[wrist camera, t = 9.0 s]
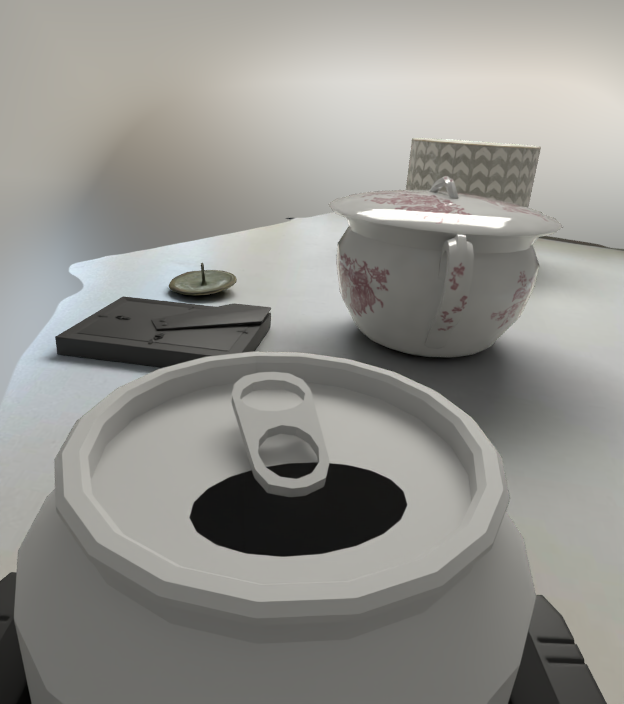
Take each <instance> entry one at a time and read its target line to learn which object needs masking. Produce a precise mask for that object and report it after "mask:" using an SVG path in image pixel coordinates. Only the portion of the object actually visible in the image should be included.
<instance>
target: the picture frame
mask: <svg viewBox="0 0 624 704" xmlns="http://www.w3.org/2000/svg"><path fill="white" fill-rule="evenodd" d="M270 310H271V308H270V307H261V306H252V305H243V304H229V305H224V306H219V307H213V306H204V305H195V304H186V303H177V302H167V301H158V300H149V299H140V298H131V297H121V298H120V299H118V300H116V301H115V302H113V303H111V304H110V305H108V306H106V307H105V308H103V309H101V310H100V311H98V312H96V313H95V314H93V315H91V316H90V317H88V318H86V319H85V320H83V321H81V322H80V323H78V324H76V325H75V326H73V327H71V328H70V329H68V330H66V331H64V332H63V333H61V334H59V335H58V336H56V337H55V338H56V346H57V353H58V354H61V355H69V356H77V357H85V358H93V359H101V360H109V361H117V362H125V363H133V364H141V365H149V366H157V367H168V366H172V365H176V364H180V363H184V362H188V361H191V360H195V359H199V358H203V357H209V356H218V355H227V354H236V353H245V352H254V351H255V349H256V348H257V346H258V345H259V343H260V342H261V340H262V339H263V338H264V336H265V335H266V333H267V332H268V330H269V329H270V323H271V313H269V311H270Z"/></svg>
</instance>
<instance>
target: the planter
mask: <svg viewBox="0 0 624 704" xmlns="http://www.w3.org/2000/svg"><path fill="white" fill-rule="evenodd" d="M540 149H541V147H538V146H529V145H516V144H505V143H490V142H476V141H461V140H446V139H425V138H413V139H412V144H411V152H410V160H409V169H408V177H407V185H406V190H430V189H431V187H432V186H433V184H434V183H435V182H436V181H437V180H438V179H440V178H442V177H444V176H448V177H450V178H451V179H453V181H454V184H455V187H456V190H457V193H464V194H471V195H476V196H481V197H486V198H491V199H496V200H500V201H505V202H509V203H514V204H517V205H520V206H524V207H527V208H528V206H529V201H530V197H531V192H532V187H533V182H534V177H535V173H536V168H537V163H538V158H539V154H540ZM439 191H447V190H446V187H445V186H443V187H442V188H441V189H440V190H439Z"/></svg>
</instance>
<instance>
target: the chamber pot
mask: <svg viewBox="0 0 624 704" xmlns="http://www.w3.org/2000/svg"><path fill="white" fill-rule="evenodd" d="M443 186H445V187H446V190H447V191H439V190H440V189H441V188H442V187H443ZM329 206H330V207H331V209H332V210H333V211H334V212H335V213H336V214H338V215H341V216H343V217H346V218H347V221H348V225H349V227H348V228H347V230H346V231H345V233H344V234H343V236H342V238H341V239H340V241H339V242H338V247H337V260H336V265H337V273H338V281H339V289H340V293H341V296H342V298H343V300H344V302H345V304H346V306H347V308H348V310H349V312H350V314H351V316H352V318H353V320H354V322H355V324H356V326H357V327H358V329H359V330H360V331H361V332H362V333H363V334H364V335H366V336H367V337H368V338H369V339H371V340H372V341H374V342H376V343H379V344H381V345H383V346H385V347H387V348H390V349H393V350H396V351H400V352H404V353H407V354H411V355H417V356H424V357H458V356H467V355H472V354H475V353H478V352H481V351H483V350H485V349H487V348H489V347H490V346H492V345H493V344H494V343H495V342H496V340H497V339H498V338H499V337H500V336H501V335H502V334H503V333H504V332H505V331H506V330H507V329H508V328H509V327H510V326H511V325H512V324H513V323H514V322H515V321H516V320H517V319H518V318H519V317H520V316H521V315H522V313H523V311H524V308H525V306H526V304H527V302H528V300H529V298H530V295H531V293H532V291H533V289H534V287H535V283H536V279H537V274H538V270H539V263H538V260H537V257H536V254H535V251H534V248H533V244H534V243H535V241H536V240H537V238H538V237H541V236H547V235H552V234H554V233H556V232H557V231H558V230H560V229H561V228H563V227H562V225H561V224H560V223H559V222H558V221H557V220H556V219H554V218H552V217H549V216H547V215H544V214H543V213H542V212H539V211H536V210H533V209H530V208H527V207H524V206H520V205H517V204H514V203H509V202H505V201H500V200H496V199H491V198H486V197H481V196H476V195H471V194H464V193H457V190H456V187H455V184H454V181H453V179H451V178H450V177H448V176H444V177H442V178H440V179H438V180H437V181H436V182H435V183H434V184H433V186H432V187H431V189H430V190H395V191H375V192H367V193H359V194H353V195H349V196H347V197H342V198H337V199H336V200H334V201H332V202H331V203H330V204H329Z"/></svg>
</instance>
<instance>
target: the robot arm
mask: <svg viewBox="0 0 624 704" xmlns="http://www.w3.org/2000/svg"><path fill="white" fill-rule="evenodd" d="M16 575H17V573H14V572H11V573H9V574H8V575H7V576H6V577H5V578H3V579H2V580H1V581H0V704H32V703H31V698H30V693H29V688H28V684H27V679H26V674H25V669H24V664H23V660H22V655H21V650H20V645H19V640H18V636H17V631H16V626H15V621H14V607H15V591H16ZM508 704H607V703H606V701H605V699H604V697H603V695H602V693H601V692H600V690H599V688H598V686H597V684H596V682H595V680H594V678H593V676H592V674H591V672H590V670H589V668H588V666H587V664H585V663H584V658H583V656H582V654H581V652H580V650H579V648H578V646H577V644H575V643H574V638H573V636H572V634H571V632H570V630H569V628H568V626H567V625H566V623H565V621H564V619H563V617H562V615H561V614H560V613H559V612H558V611H557V610H556V609H555V608H554V607H553V606H552V605H551V604H550V603H549V602H548V601H547V600H546V599H545V598H544V596H543V595H536V600H535V604H534V608H533V612H532V616H531V621H530V625H529V629H528V633H527V637H526V641H525V646H524V650H523V654H522V658H521V662H520V666H519V669H518V672H517V676H516V679H515V682H514V685H513V689H512V692H511V695H510V698H509V701H508Z"/></svg>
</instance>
